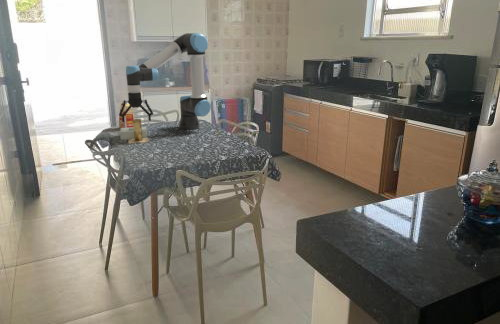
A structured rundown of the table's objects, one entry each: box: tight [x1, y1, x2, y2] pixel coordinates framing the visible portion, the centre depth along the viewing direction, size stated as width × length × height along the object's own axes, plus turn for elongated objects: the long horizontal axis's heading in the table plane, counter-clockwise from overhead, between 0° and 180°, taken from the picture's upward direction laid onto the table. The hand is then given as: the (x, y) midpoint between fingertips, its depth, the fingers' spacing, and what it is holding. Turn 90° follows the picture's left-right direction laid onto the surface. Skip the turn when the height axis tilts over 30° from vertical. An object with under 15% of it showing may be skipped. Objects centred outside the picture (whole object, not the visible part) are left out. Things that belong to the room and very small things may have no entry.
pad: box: [128, 137, 150, 145], centre depth 238 cm, size 12×10×1 cm
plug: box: [133, 118, 143, 141], centre depth 236 cm, size 5×5×13 cm
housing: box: [119, 126, 148, 141], centre depth 248 cm, size 16×12×5 cm
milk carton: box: [118, 100, 136, 130], centre depth 268 cm, size 9×9×20 cm
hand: (137, 126), depth 235 cm, fingers open, 13 cm apart
